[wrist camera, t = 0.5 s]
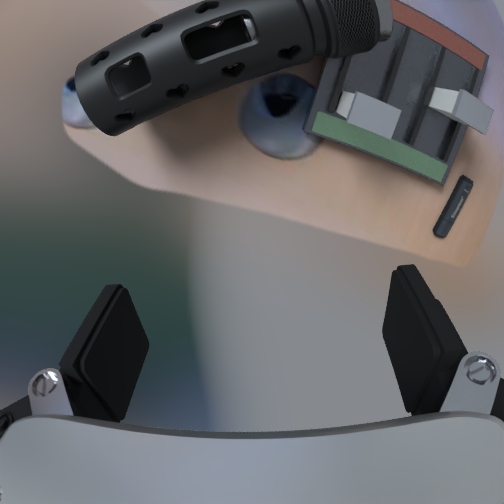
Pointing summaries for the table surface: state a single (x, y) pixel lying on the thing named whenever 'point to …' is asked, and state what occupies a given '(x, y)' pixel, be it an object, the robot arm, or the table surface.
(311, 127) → the breaker panel
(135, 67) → the muzzle brake
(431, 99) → the block
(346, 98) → the block
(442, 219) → the usb stick
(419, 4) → the table surface
